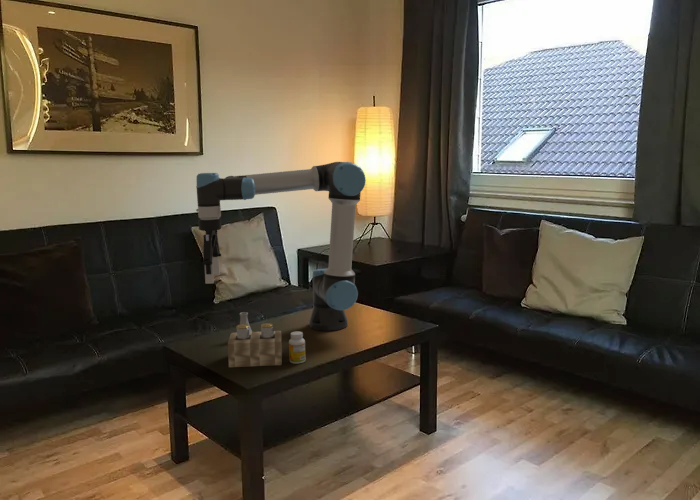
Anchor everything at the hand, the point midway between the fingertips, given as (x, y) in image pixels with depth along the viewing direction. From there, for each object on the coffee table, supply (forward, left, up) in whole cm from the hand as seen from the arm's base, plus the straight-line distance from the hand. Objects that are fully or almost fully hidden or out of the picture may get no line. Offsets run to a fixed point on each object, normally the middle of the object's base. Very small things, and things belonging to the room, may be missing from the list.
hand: (212, 279), depth 216 cm
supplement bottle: (-28, +17, -26) cm, 42 cm away
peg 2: (-19, +13, -21) cm, 31 cm away
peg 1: (-11, +14, -21) cm, 27 cm away
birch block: (-15, +14, -25) cm, 32 cm away
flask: (-9, -10, -26) cm, 29 cm away
